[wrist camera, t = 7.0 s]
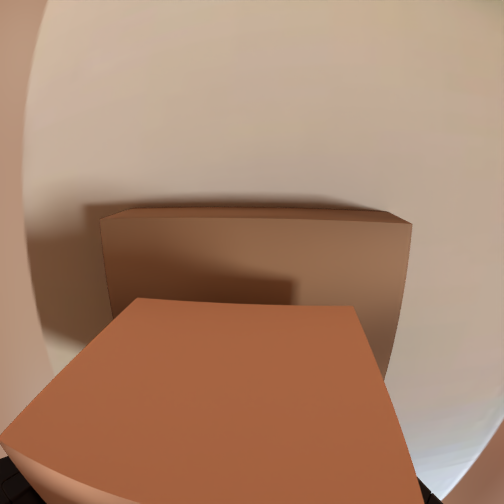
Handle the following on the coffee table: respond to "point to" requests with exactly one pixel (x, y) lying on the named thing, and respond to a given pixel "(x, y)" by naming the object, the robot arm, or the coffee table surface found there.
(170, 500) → the terracotta cube
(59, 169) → the coffee table surface
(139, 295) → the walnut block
